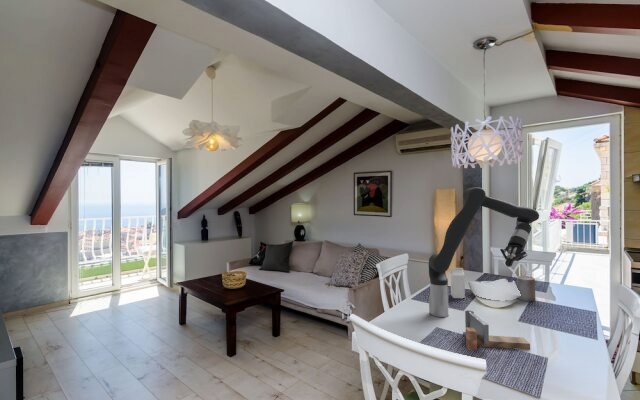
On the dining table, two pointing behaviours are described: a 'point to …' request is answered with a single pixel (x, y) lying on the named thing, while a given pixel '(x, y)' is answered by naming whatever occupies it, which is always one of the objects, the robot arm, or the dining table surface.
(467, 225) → the robot arm
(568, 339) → the dining table surface
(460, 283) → the milk carton
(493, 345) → the door edge
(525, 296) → the pillar candle
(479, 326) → the bar
